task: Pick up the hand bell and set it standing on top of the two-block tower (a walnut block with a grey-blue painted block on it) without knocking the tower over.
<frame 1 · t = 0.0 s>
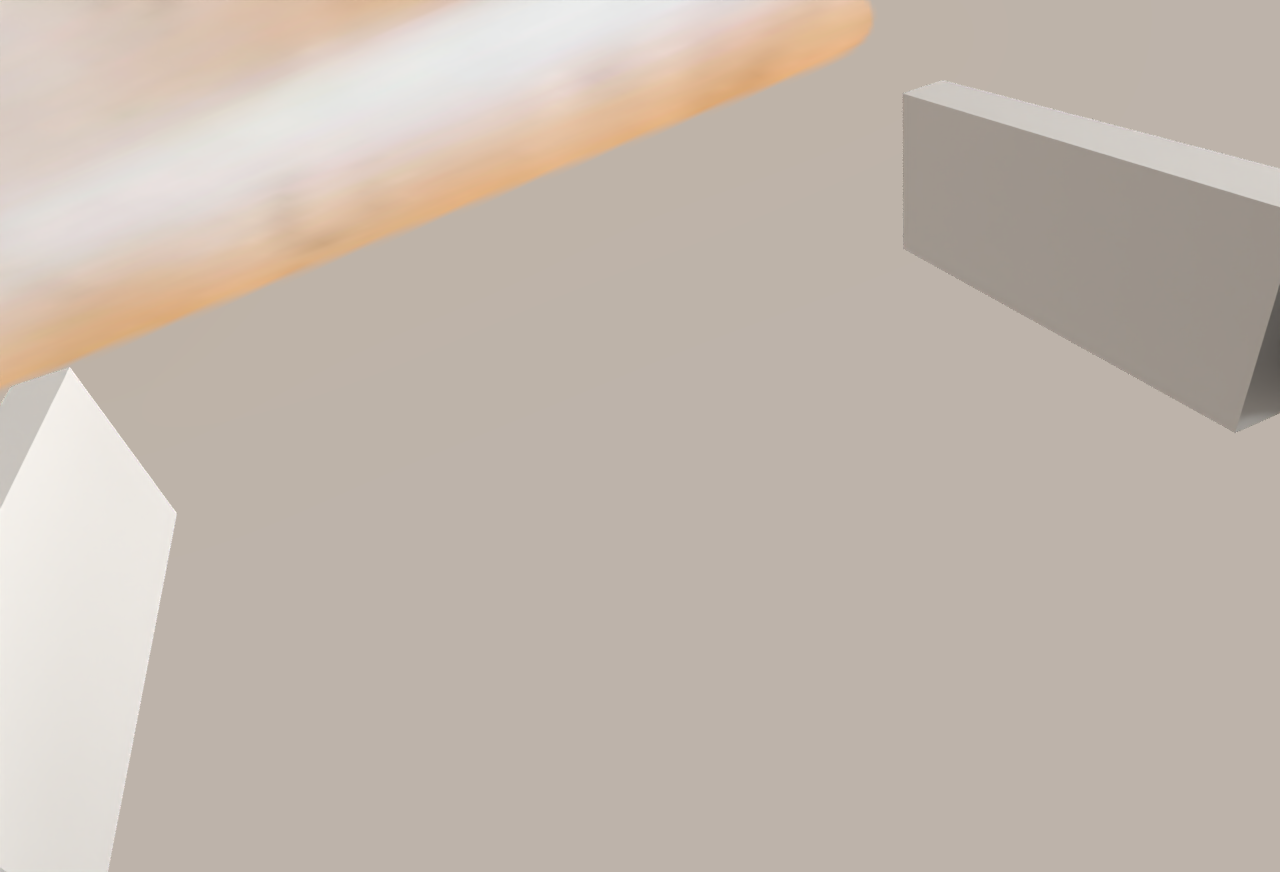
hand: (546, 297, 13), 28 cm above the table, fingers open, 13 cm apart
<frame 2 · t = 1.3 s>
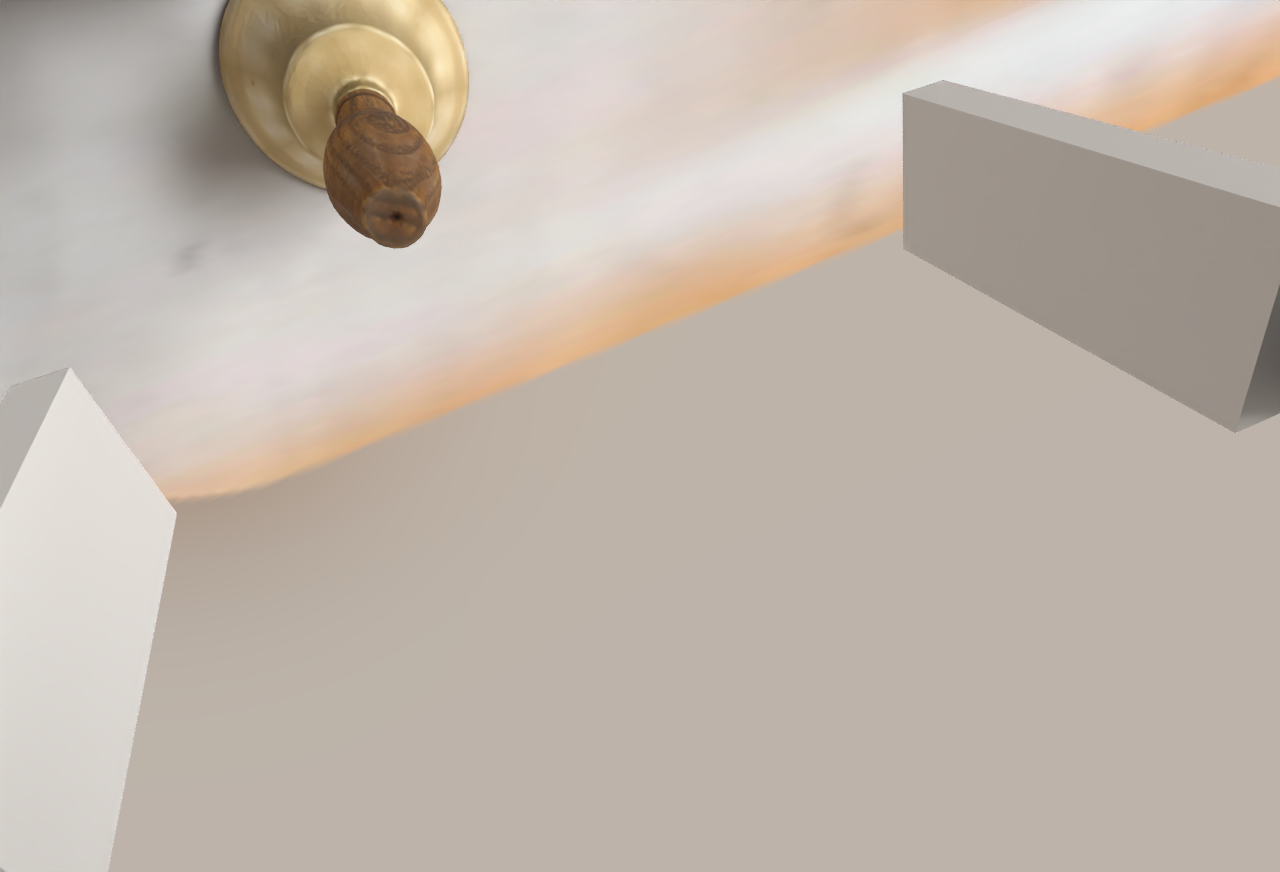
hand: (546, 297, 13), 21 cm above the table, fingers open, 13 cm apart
hand bell: (350, 74, 29), on the table
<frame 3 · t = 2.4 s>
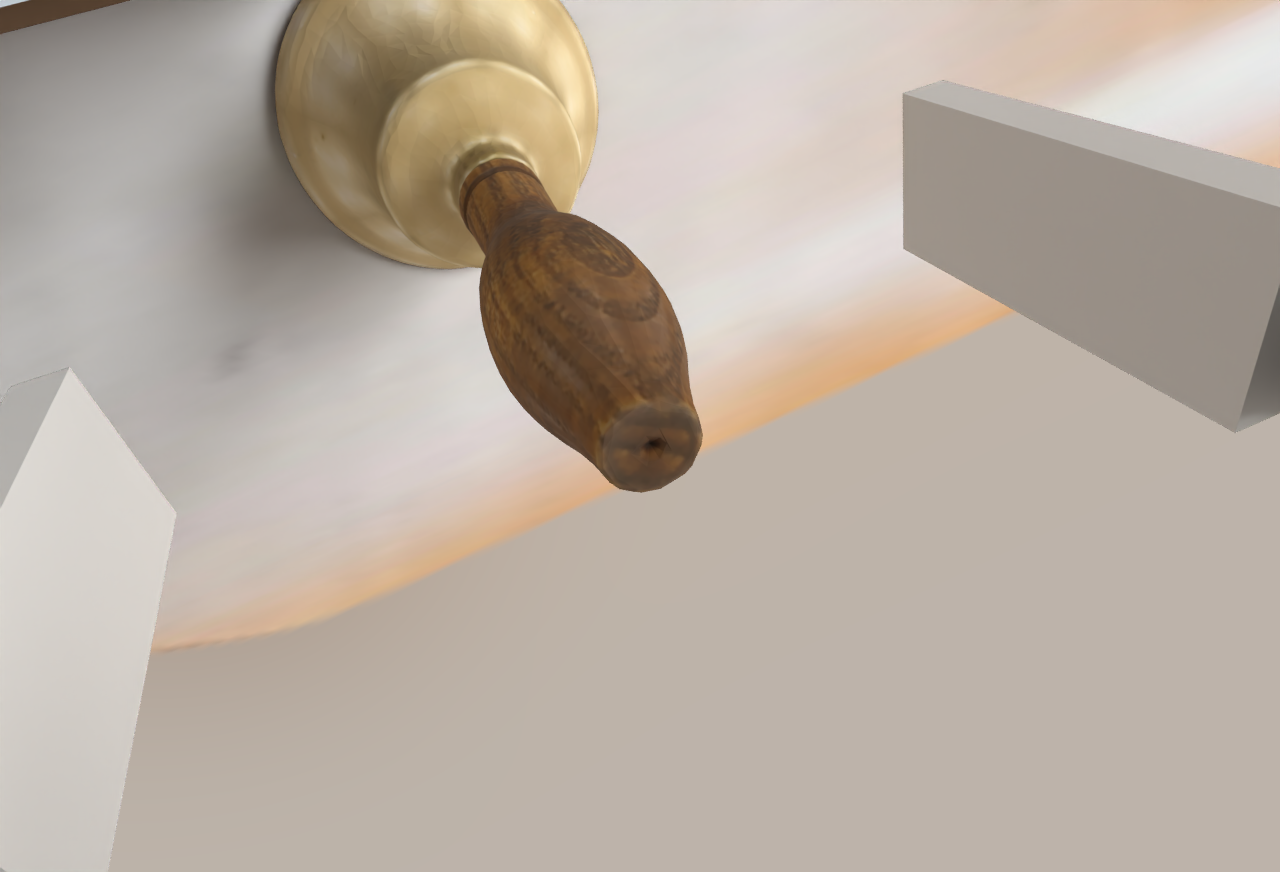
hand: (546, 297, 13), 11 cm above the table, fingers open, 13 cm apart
hand bell: (445, 115, 22), on the table
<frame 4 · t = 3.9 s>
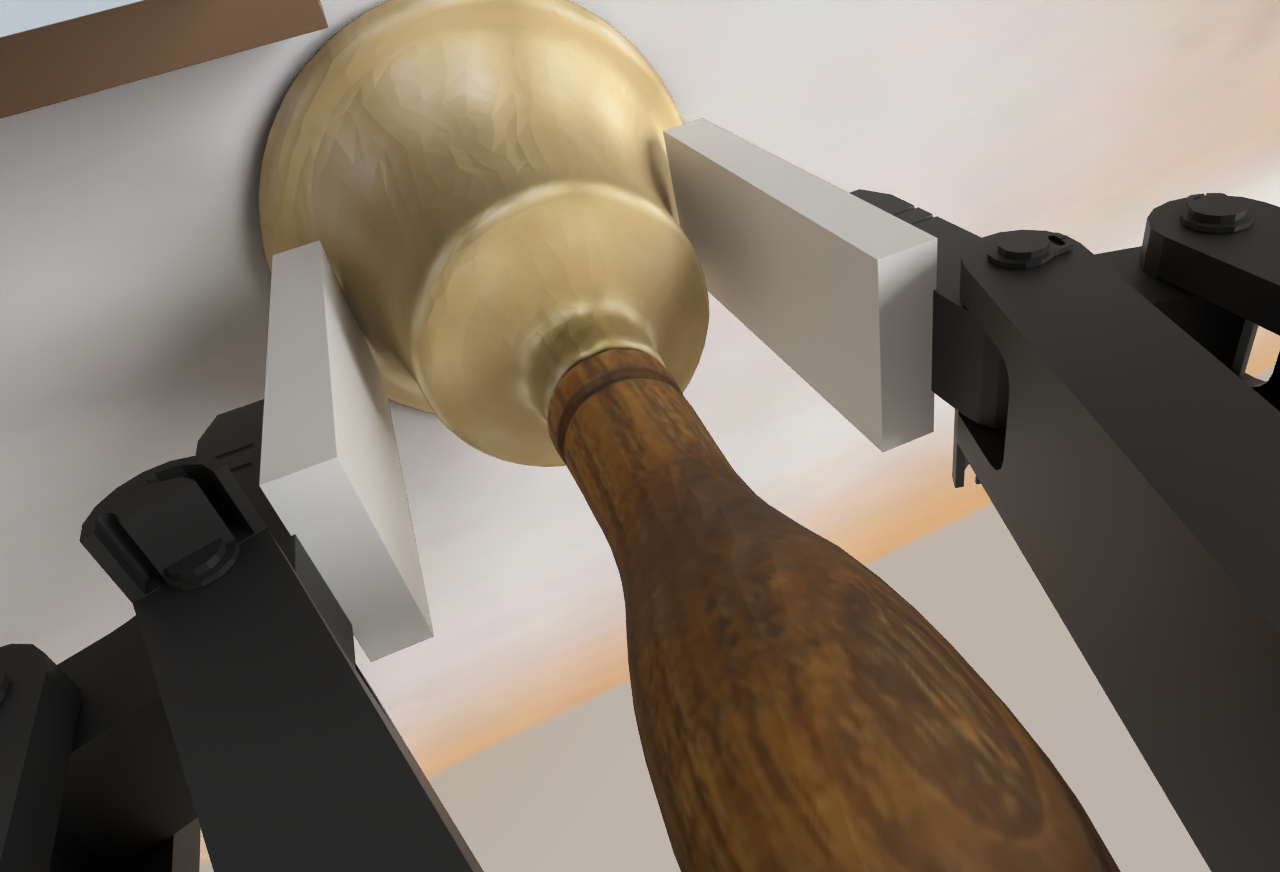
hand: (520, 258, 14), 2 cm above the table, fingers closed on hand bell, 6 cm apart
hand bell: (493, 222, 16), on the table, touching gripper
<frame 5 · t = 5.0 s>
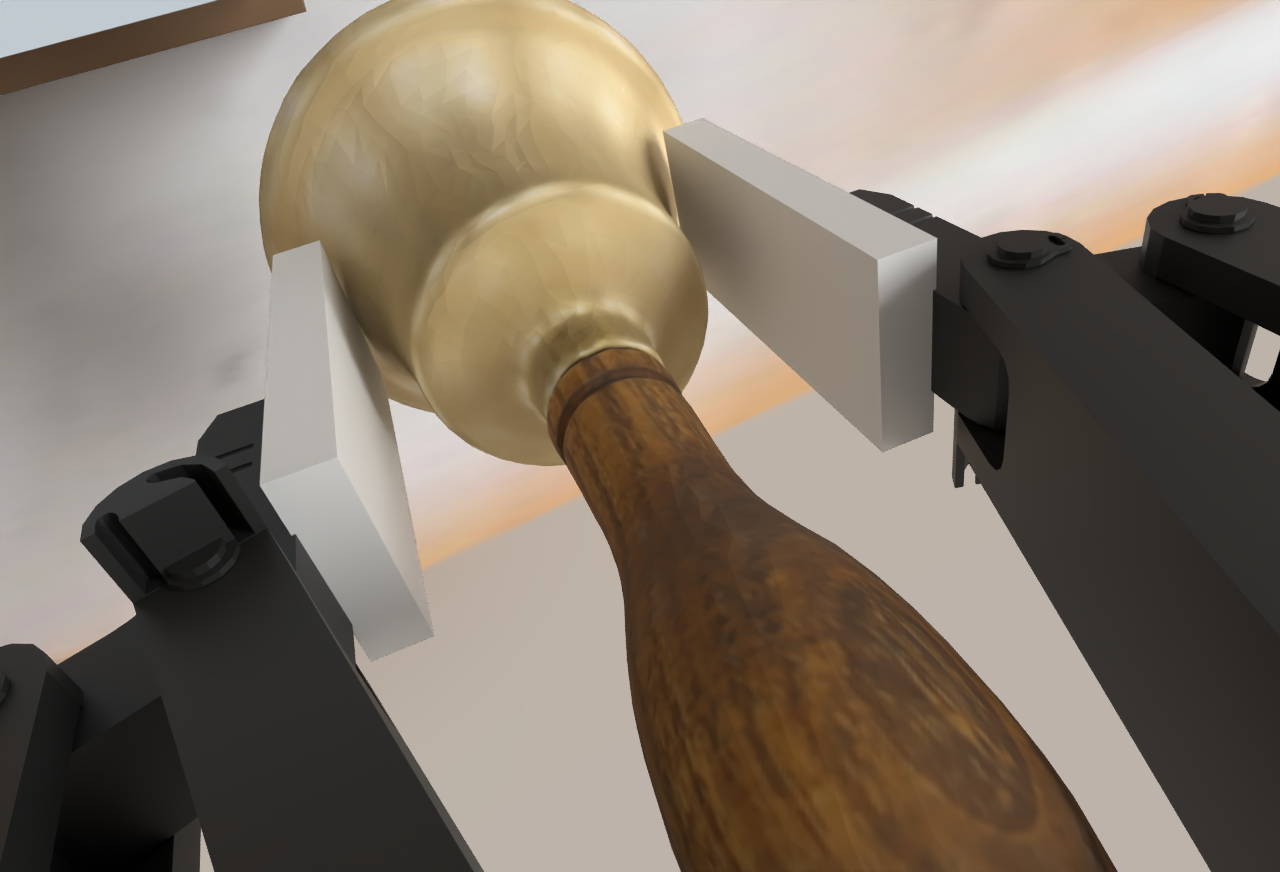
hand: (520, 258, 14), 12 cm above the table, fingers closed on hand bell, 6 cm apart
hand bell: (493, 222, 16), point 9 cm above the table, touching gripper
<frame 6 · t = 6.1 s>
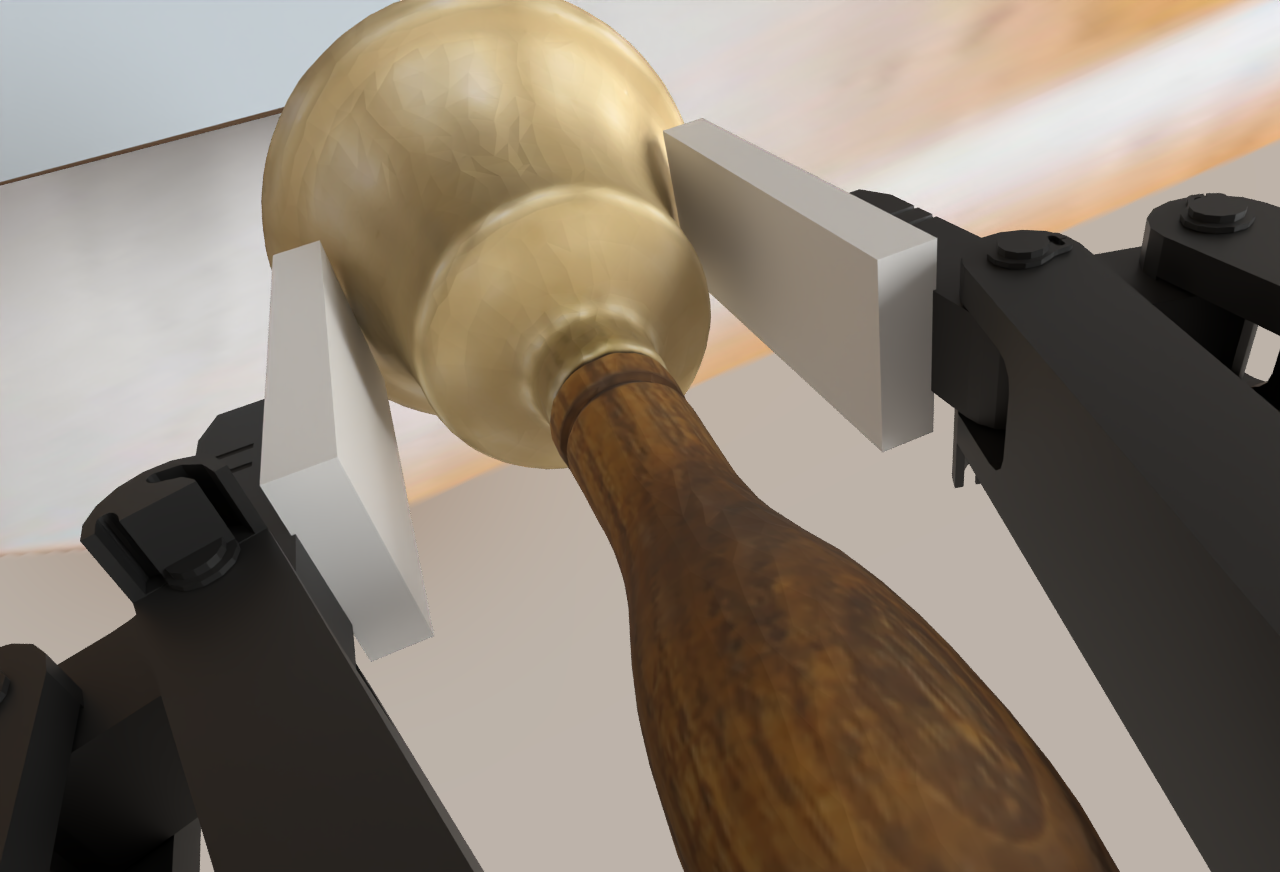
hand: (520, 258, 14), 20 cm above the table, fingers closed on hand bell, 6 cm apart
hand bell: (495, 224, 16), point 18 cm above the table, touching gripper
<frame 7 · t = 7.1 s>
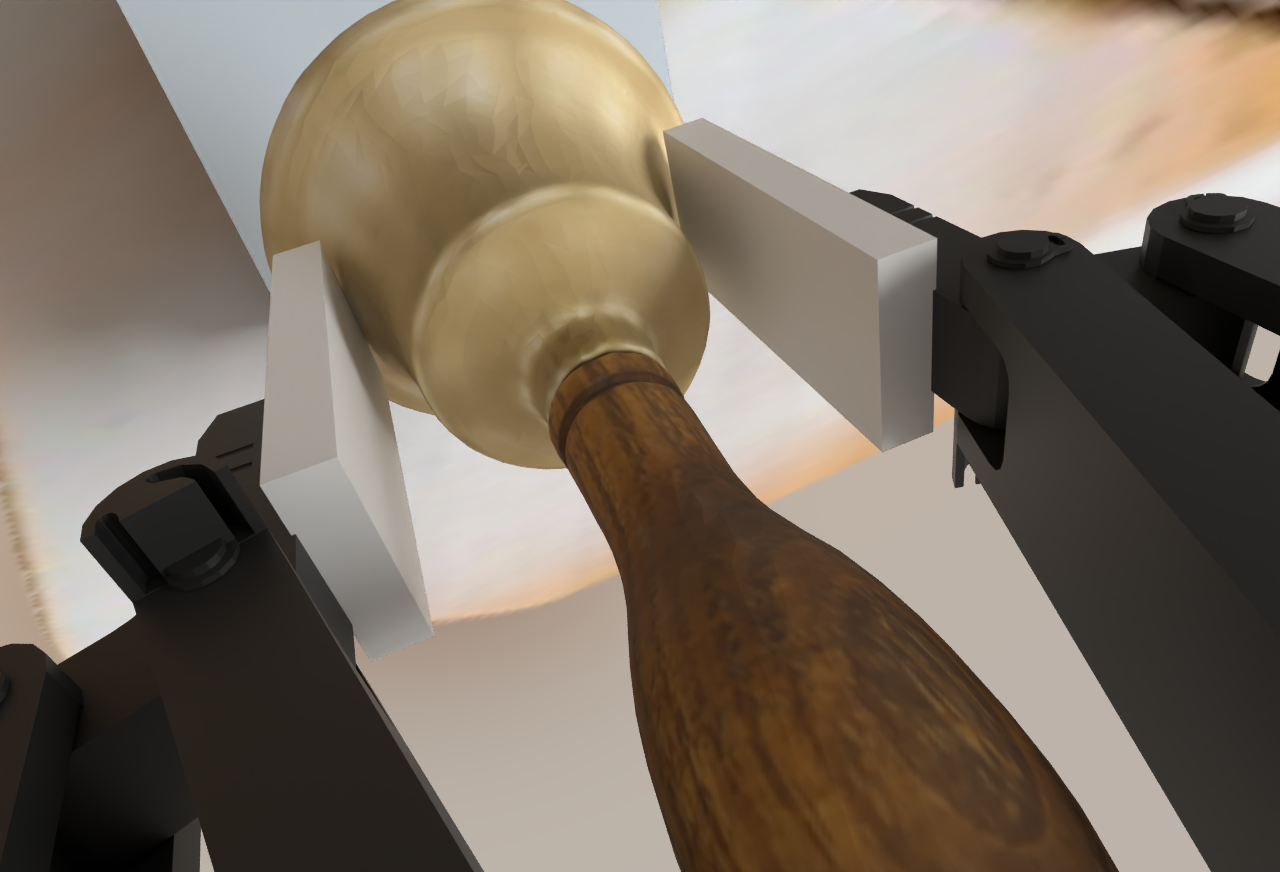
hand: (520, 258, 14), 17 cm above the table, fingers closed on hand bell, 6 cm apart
top block: (433, 101, 25), point 4 cm above the table, touching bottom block
hand bell: (494, 224, 16), point 15 cm above the table, touching gripper
when the fingers open (12 cm above the table, at t = 8.3 s): hand bell moves 2 cm, resting on top block.
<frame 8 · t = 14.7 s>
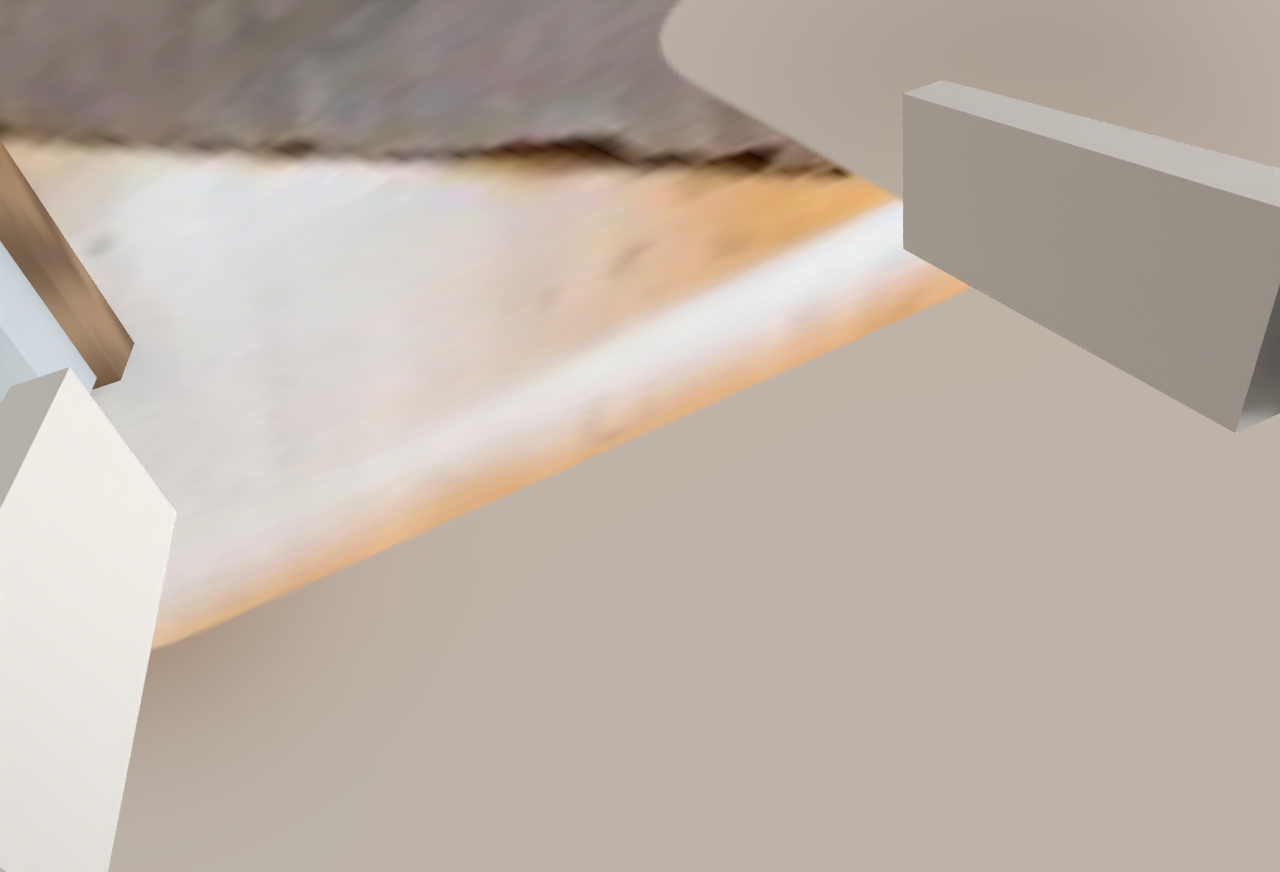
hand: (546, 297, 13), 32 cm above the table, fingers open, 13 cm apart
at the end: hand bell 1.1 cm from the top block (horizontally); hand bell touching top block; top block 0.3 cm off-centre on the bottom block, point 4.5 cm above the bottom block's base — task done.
